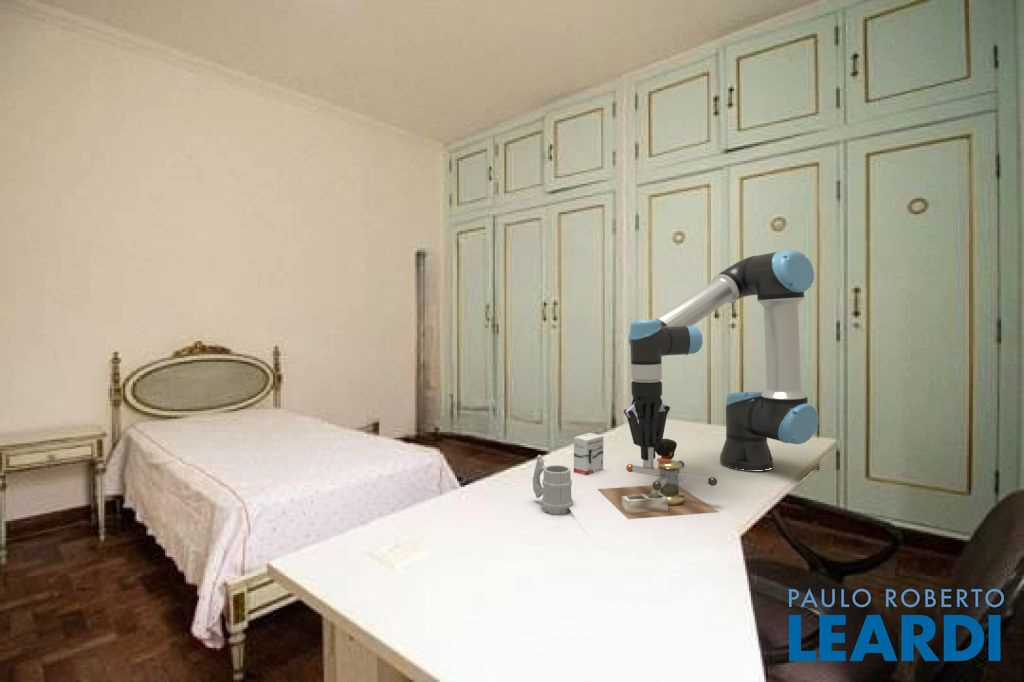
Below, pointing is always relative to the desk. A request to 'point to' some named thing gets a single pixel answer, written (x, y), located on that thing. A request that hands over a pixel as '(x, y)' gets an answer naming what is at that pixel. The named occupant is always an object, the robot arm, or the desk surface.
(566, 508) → the mug
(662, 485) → the capstan
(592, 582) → the desk surface
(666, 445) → the figurine
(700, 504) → the stand
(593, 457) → the ink box
